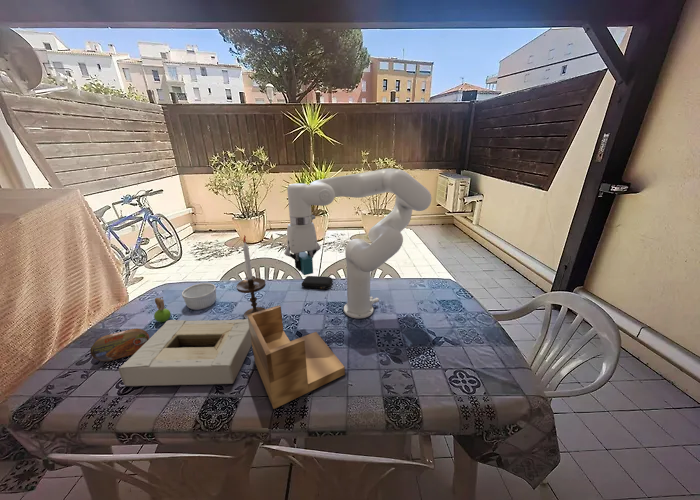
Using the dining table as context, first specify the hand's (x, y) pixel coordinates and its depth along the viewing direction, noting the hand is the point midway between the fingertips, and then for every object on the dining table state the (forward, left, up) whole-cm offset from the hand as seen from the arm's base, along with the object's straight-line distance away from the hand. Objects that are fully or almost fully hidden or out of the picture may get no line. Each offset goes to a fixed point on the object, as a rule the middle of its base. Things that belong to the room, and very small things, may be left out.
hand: (304, 268), depth 100 cm
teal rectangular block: (0, 0, -1) cm, 1 cm away
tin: (+60, -15, -23) cm, 66 cm away
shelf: (+13, +22, -23) cm, 34 cm away
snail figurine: (+49, -30, -23) cm, 62 cm away
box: (+39, 0, -23) cm, 45 cm away
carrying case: (-16, -25, -23) cm, 38 cm away
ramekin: (+35, -37, -23) cm, 56 cm away
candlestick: (+17, -15, -23) cm, 33 cm away
